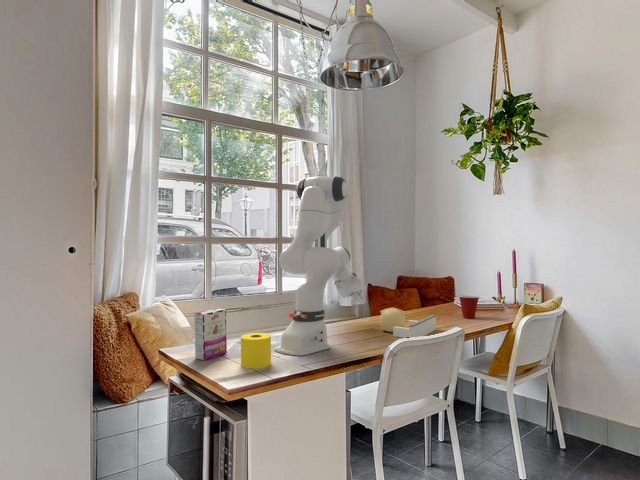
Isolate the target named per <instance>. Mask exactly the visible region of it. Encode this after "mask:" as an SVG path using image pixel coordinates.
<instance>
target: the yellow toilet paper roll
mask: <svg viewBox="0 0 640 480" xmlns="http://www.w3.org/2000/svg"><path fill="white" fill-rule="evenodd" d="M271 338H272V335H271V334H269V333H265V332H251V333H245V334H242V335H241V336H240V366H241V367H243V368H245V369H252V370H253V369H255V370H256V369H264V368H267V367H270V366H271V364H272V339H271Z"/></svg>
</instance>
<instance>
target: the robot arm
mask: <svg viewBox="0 0 640 480" xmlns="http://www.w3.org/2000/svg"><path fill="white" fill-rule="evenodd" d="M295 188H296V195H297V197H298V199H299V201H300V204H299V208H298V209H299V211H298V222H297V228H296V233H295V235H294V237H293V239H292V240H291V242H290V243H289V244H288V246H287V247H286V248H284V249H283V250H281V253H280V255H279V258H278V259H279V260H278V263H279V266H280V268H281V270H282V271H283V272H285V273H289V274H293V275H303V276H304V275H307V279H306V282H305V283H303V284H301V285H299V286H298V287H297V289H296V290H295V309H294V311H293V312H289V313H288V317H289V318H291V319H292V321H291V322H290V323H289V325H288V326H287V328H286V329H285V330H284V331H283V332H282V334H281V340H280V344H279V345H278V346H275V347H274V352H277V353H280V354H285V355H290V356H306V355H310V354H313V353H317V352H321V351H324V350H328V349H331V346H330V344H329V342H328V331H327V330H328V329H327V325H326V324H325V314H326V313H325V309H324V295H325V294H324V293H325V288H326V285H327V284H328V282H329V280H330V278H331V279H332V280H333V282H334V286H335V289H336V291H337V292H338V293H339V295H340V296H341V297H342V298H344V299H345V298H350V297H352V298H354V299H355V300H357V302H358V303H361V302H363V301H365V297H363V294H364V293H365V291H366V290H367V286H366V285H365V283H364V282H363V281H362V280H361V279H360V278H359V277H358V274H357V273H356V272H355V273H354V272H352V271H349V269H348V268H346V266H347V265H348V264H349V262H350V261H351V253H350V251H348V249H347V248H345V247H344V246H341V245H339V246H337V247H335V248H330V247H329V248H328V239H329V237H330V236H331V235H332V233H333V232H334V231H335V230H336V229H337V228H338V227H339V226H340V225H341V224H342V222H343V220H344V218H345V212H344V205H343V201H344V200H345V198H346V197H347V193H348V185H347V181H346V180H345V178H343V177H342V176H322V175H317V176H311V177H309V176H305V177H302V178H299V180H298V182H297V183H296V187H295ZM314 244H315V245H314ZM313 245H314V246H313Z"/></svg>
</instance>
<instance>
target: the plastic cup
mask: <svg viewBox="0 0 640 480" xmlns="http://www.w3.org/2000/svg"><path fill="white" fill-rule="evenodd" d="M458 298H459V302H460V307H461V313H462V317H463V319H467V320H468V319H469V320H474V319H475V318H476V314H477V313H476V312H477V307H478V304H479V303H478V302H479V299H480V296H476V295H460V294H459V295H458Z"/></svg>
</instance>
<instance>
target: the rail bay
mask: <svg viewBox="0 0 640 480" xmlns="http://www.w3.org/2000/svg"><path fill="white" fill-rule="evenodd" d="M407 324H408V325H407V327H396V326H395V327H393V332H392V337H396V338H403V339H408V338H407V337H417V336H423V337H425V336H427V335H428V334H431V333H432V332H434V331H436V330H437V316H436V315H435V314H431V315H429V316H427V317H425V318H422V319H420V320H411V319H409V320H407Z"/></svg>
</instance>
